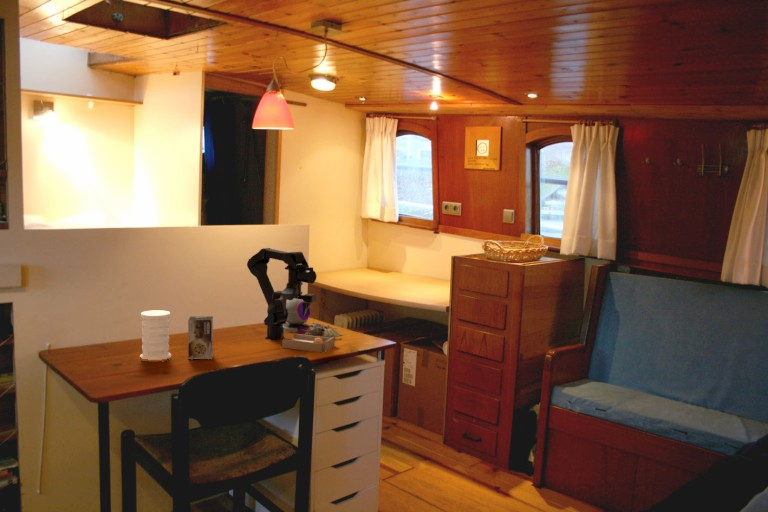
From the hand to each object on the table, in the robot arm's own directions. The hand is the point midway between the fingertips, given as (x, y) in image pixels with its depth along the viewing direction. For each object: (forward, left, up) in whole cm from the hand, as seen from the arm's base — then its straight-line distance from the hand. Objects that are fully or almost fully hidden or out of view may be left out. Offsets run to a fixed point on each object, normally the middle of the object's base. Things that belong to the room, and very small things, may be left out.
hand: (293, 315), depth 287 cm
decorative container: (-37, -46, -12) cm, 60 cm away
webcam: (-10, +24, -12) cm, 29 cm away
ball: (+13, -3, -10) cm, 17 cm away
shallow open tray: (+9, -3, -12) cm, 15 cm away
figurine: (+8, +17, -12) cm, 22 cm away
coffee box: (-22, -38, -12) cm, 46 cm away
